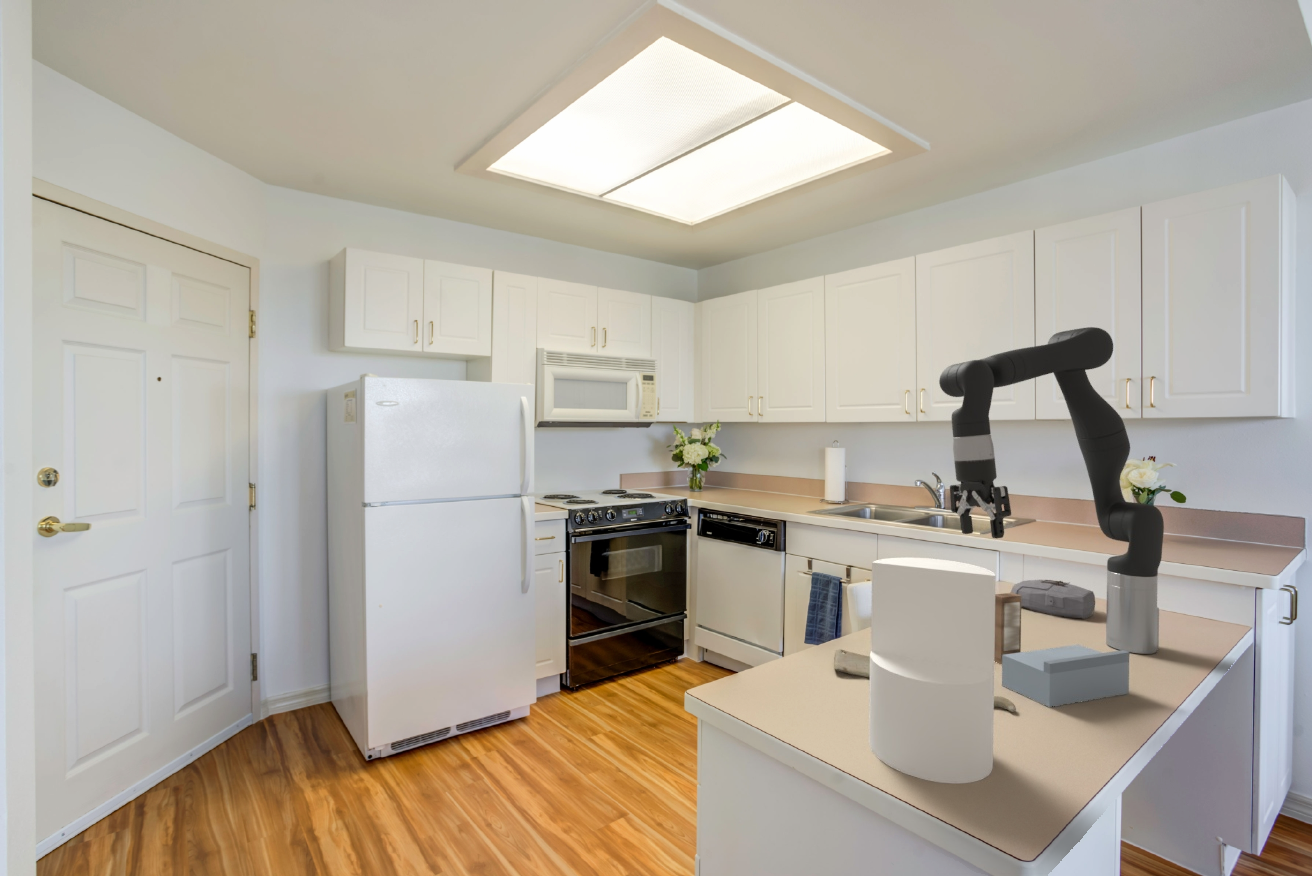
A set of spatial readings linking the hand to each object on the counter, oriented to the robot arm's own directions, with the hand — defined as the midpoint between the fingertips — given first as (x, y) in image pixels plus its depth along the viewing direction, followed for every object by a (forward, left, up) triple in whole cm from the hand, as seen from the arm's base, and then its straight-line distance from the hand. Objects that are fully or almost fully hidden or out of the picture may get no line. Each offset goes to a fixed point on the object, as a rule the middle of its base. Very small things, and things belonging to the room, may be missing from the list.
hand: (982, 535), depth 129 cm
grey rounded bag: (-55, -29, -28) cm, 68 cm away
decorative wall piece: (+16, -2, -29) cm, 33 cm away
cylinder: (+35, +24, -28) cm, 51 cm away
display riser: (-7, +13, -28) cm, 31 cm away
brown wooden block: (-9, -2, -28) cm, 29 cm away
